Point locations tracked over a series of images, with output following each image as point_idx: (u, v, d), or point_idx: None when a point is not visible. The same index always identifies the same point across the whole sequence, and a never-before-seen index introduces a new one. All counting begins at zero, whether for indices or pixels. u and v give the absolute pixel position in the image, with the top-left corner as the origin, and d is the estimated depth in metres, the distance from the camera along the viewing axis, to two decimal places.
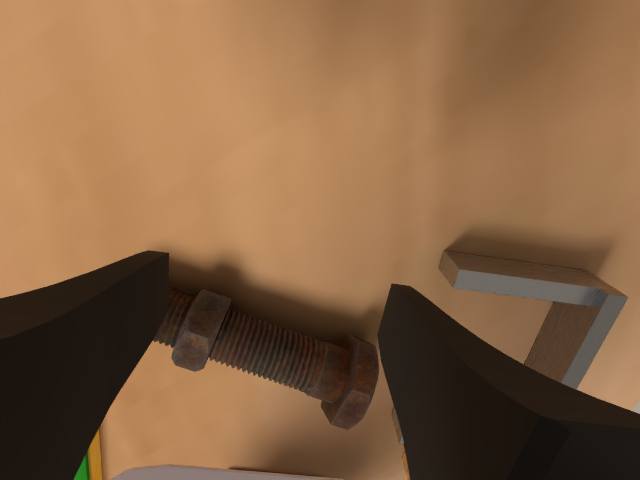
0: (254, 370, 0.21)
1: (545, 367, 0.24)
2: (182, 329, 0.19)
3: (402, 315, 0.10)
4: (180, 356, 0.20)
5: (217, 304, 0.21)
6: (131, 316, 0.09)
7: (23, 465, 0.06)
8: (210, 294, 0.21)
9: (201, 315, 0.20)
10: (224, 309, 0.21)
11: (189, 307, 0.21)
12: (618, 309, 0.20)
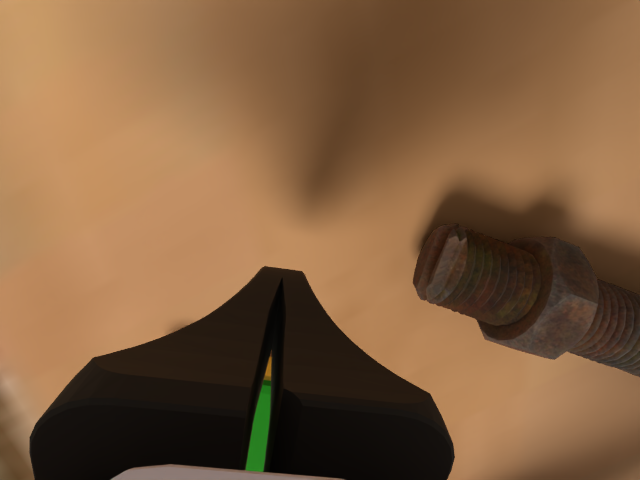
0: (623, 356, 0.14)
1: None
2: (554, 292, 0.12)
3: (280, 299, 0.10)
4: (542, 336, 0.13)
5: (577, 255, 0.13)
6: (269, 332, 0.09)
7: None
8: (560, 241, 0.14)
9: (570, 270, 0.13)
10: (588, 262, 0.13)
11: (529, 261, 0.14)
12: None
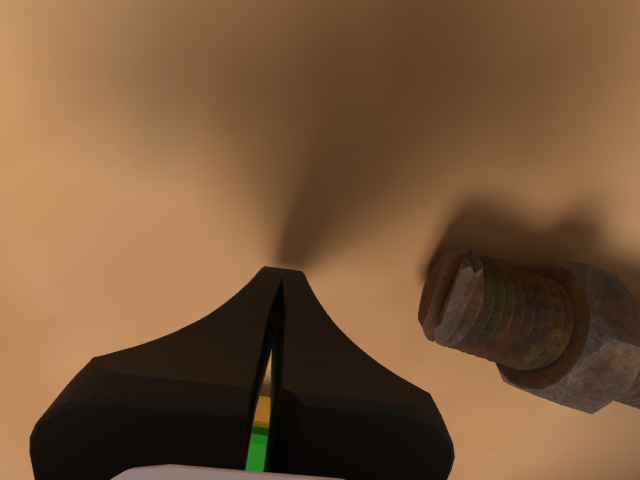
0: None
1: None
2: (593, 335, 0.10)
3: (280, 299, 0.10)
4: (578, 388, 0.10)
5: (616, 286, 0.11)
6: (269, 333, 0.09)
7: None
8: (595, 268, 0.11)
9: (609, 306, 0.10)
10: (630, 294, 0.11)
11: (557, 294, 0.11)
12: None
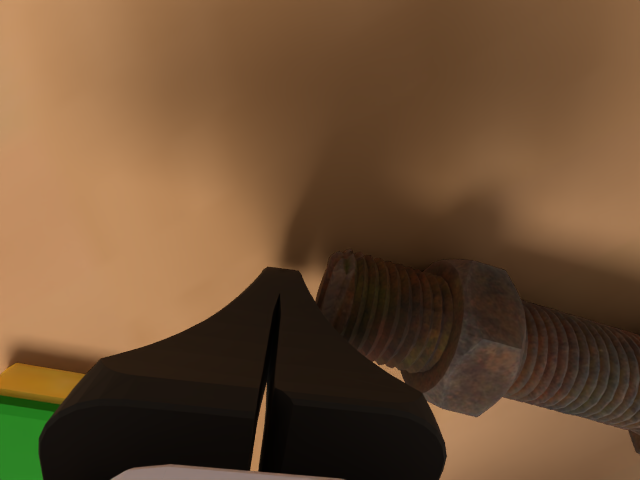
0: (571, 403, 0.11)
1: None
2: (464, 336, 0.09)
3: None
4: (456, 391, 0.10)
5: (501, 282, 0.11)
6: (273, 333, 0.09)
7: None
8: (481, 264, 0.11)
9: (487, 304, 0.10)
10: (516, 290, 0.10)
11: (442, 293, 0.11)
12: None
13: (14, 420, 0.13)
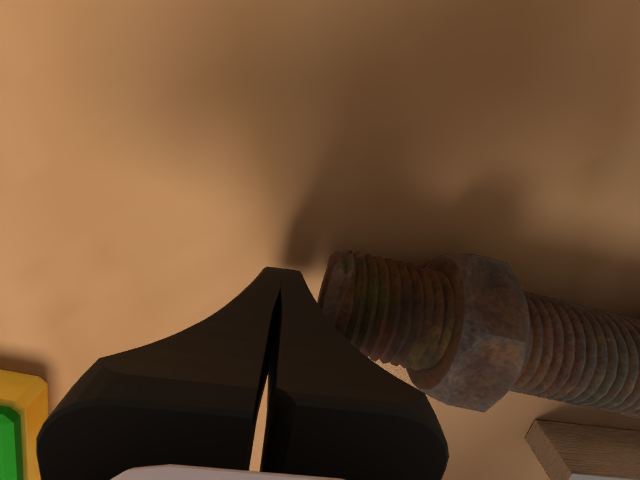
0: (580, 394, 0.11)
1: None
2: (467, 331, 0.09)
3: None
4: (461, 387, 0.10)
5: (502, 275, 0.10)
6: (272, 333, 0.09)
7: None
8: (481, 258, 0.11)
9: (489, 298, 0.10)
10: (518, 283, 0.10)
11: (443, 289, 0.11)
12: None
13: None
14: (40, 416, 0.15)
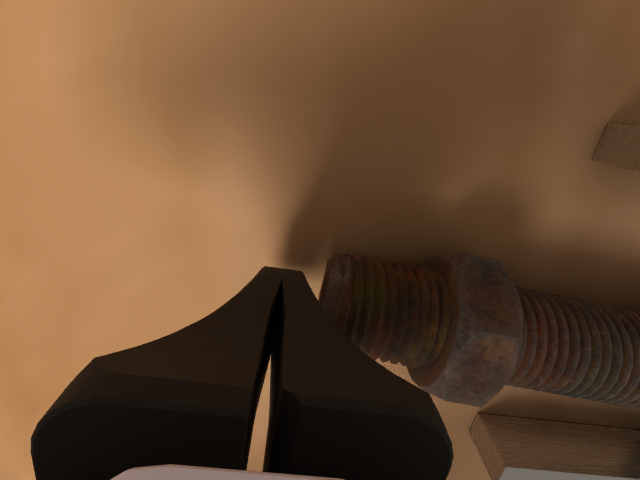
0: (576, 387, 0.11)
1: None
2: (461, 329, 0.10)
3: (280, 299, 0.10)
4: (458, 383, 0.10)
5: (496, 273, 0.11)
6: (270, 333, 0.09)
7: None
8: (475, 257, 0.11)
9: (482, 296, 0.10)
10: (511, 280, 0.11)
11: (439, 288, 0.11)
12: None
13: None
14: None
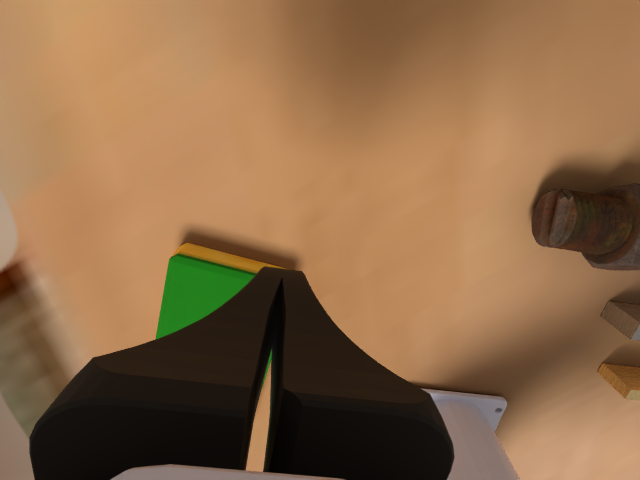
0: None
1: None
2: None
3: (280, 299, 0.10)
4: None
5: None
6: (269, 332, 0.09)
7: None
8: None
9: None
10: None
11: (619, 204, 0.19)
12: None
13: (197, 271, 0.20)
14: None
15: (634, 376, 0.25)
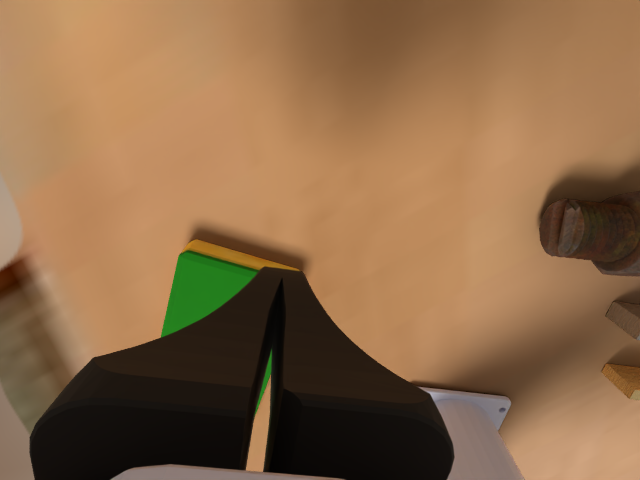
0: None
1: None
2: None
3: (280, 299, 0.10)
4: None
5: None
6: (269, 333, 0.09)
7: None
8: None
9: None
10: None
11: (626, 212, 0.19)
12: None
13: (206, 268, 0.20)
14: None
15: (638, 376, 0.25)
